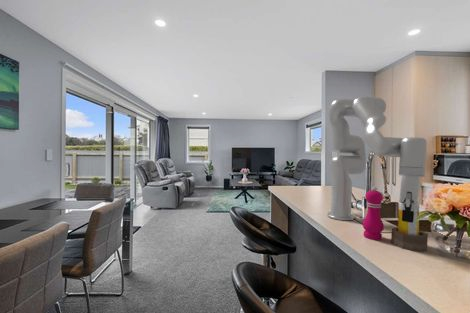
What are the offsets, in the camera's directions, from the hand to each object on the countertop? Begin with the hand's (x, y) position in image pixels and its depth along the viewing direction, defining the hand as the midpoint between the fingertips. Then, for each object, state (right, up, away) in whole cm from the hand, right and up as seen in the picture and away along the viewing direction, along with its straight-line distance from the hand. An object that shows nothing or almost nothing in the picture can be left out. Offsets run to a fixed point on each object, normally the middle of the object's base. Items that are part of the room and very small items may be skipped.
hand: (408, 218), depth 87 cm
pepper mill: (-9, -9, +7) cm, 15 cm away
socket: (0, -10, 0) cm, 10 cm away
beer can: (0, -9, 0) cm, 9 cm away
